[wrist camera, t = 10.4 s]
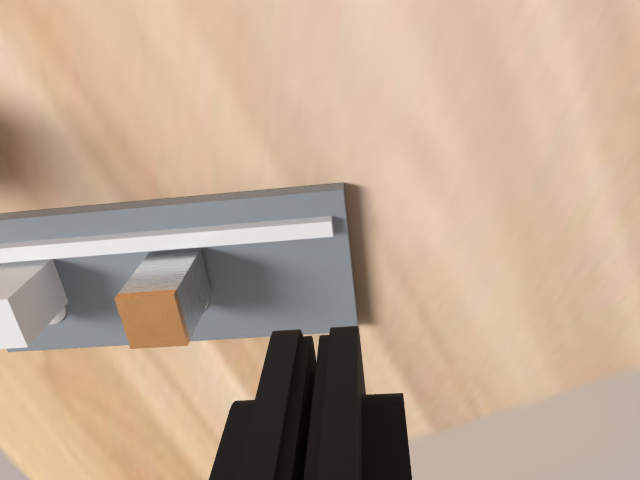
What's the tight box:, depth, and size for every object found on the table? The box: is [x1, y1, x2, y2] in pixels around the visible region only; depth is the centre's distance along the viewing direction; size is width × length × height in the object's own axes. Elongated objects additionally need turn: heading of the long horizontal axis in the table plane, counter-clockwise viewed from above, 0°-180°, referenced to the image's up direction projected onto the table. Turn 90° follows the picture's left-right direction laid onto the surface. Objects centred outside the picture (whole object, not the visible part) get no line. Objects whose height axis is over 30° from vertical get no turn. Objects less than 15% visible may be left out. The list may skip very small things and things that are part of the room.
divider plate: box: [0, 183, 358, 352], centre depth 40 cm, size 12×30×8 cm, turn 97°
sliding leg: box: [114, 248, 212, 349], centre depth 39 cm, size 5×4×7 cm
